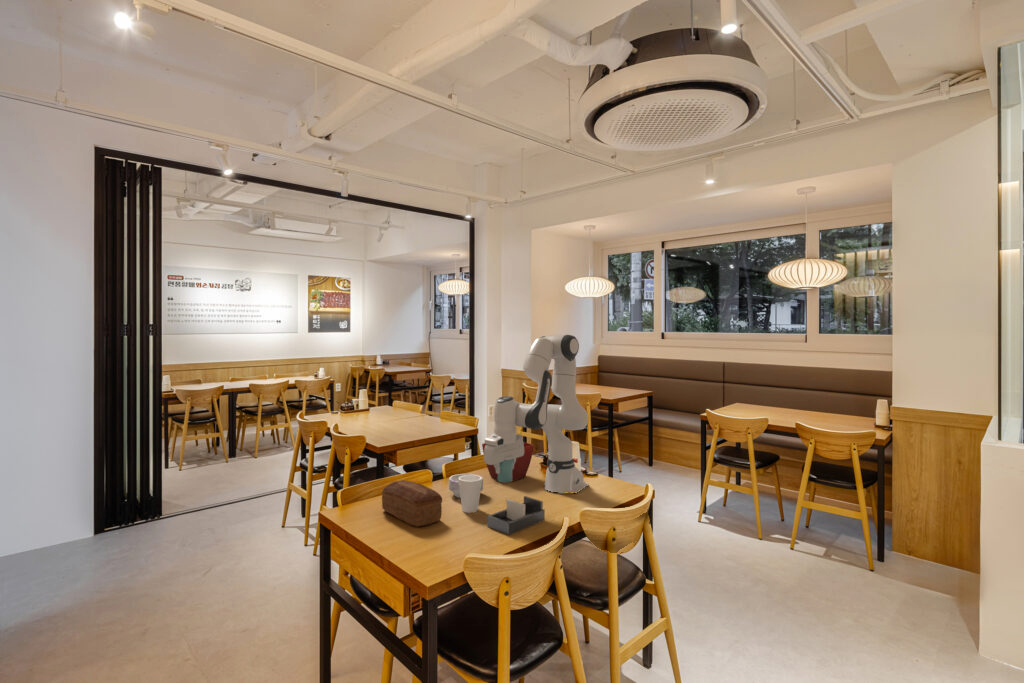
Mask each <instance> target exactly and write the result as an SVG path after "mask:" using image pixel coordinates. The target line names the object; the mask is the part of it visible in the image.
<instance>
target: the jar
mask: <svg viewBox="0 0 1024 683" xmlns="http://www.w3.org/2000/svg"><path fill="white" fill-rule="evenodd" d="M512 458H513V455H512V456H508V457H504V461H503V462H500V465H499V468H500V469H501V473H499V474H498V479H497V482H499V483H510V482H513V481H512Z"/></svg>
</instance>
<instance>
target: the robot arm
mask: <svg viewBox="0 0 1024 683" xmlns="http://www.w3.org/2000/svg"><path fill="white" fill-rule="evenodd" d="M579 349H580V343H579V340H578V338H576V336H574V335H571V334H553V335H544V336H540V337H537V338H535V340H534V341H533V342H532V344H531V346H530V348H529V349H528V351H527V354H526V356H525V358H524V361H523V365H522V369H523V373H524V374H525V376H527V377H528V379H530V380H531V381H533V382H535V383H536V384H537V385H538V386H537V392H536V396H535V400H534V402H533V403H523V402H519V401H517V400H515V398H514V397H513V396H508V395H507V396H500V397H498V398H496V400H495V402H494V412H493V421H494V428H493V432H492V433H491V434H490V435H489V436H487V437H486V438H484V443H485V444H487V445H486V446H485V448H484V453H483V463H485V464H489V465H494V467H495V469H496V473H497V474H499V473H501V469H500V468H499V465H500V462H503V461H504V457H508V456H512V455H513V458H512V469H514V464H515V462H516V458H518V457H521V456H523V455H524V443H523V442H524V440H523V439H524V437H523V435H522V434H520V433H518V434H517V428H516V426H517V427H520V428H521V427H522V428H527V429H530V430H535V431H538V430H539V429H542V430H543V432H544V434H545V437H546V439H547V443H548V444H547V446H548V457H547V466H548V467H547V468H546V472H545V473H546V474H545V481H544V482H543V486H544V485H545V486H544V490H545V491H547V490H548V491H547V492H549V491H551V492H550V493H553V492H559V493H558V494H566V493H565V492H578V491H579V490H581V489H583V488H584V489H586V488H587V487H586V486H588V485H589V483H588V482H586V481H584V473H583V472H582V471H581V470H579V468H577V467H576V464H577V463H578V462H579V459H578V458H575V457H573V452H574V451H573V450H574V449H573V448H574V447H573V442H572V440H571V439H570V438H569V437H567V436H566V435H565V434H564V433H563V431H562V430H567V431H580V430H584V429H585V428H586V427H587V426H588V423H589V414H588V412H587V410H586V409H585V408H584V407H583V406H582V405H581V403H580V402H579V400H578V397H577V390H576V389H577V388H576V381H577V380H576V379H577V360H576V356H577V355H578V353H579ZM552 360H554V363H553V368H552V374H551V372H549V369H550V365H551V362H552ZM551 391H552V394H553V395H554V396H556V397H557V398H559V399H560V401H561V404H549V398H550V393H551ZM575 463H576V464H575ZM589 486H590V485H589ZM589 486H588V487H589ZM585 487H586V488H585ZM584 489H583V490H584ZM581 491H582V490H581ZM578 493H579V492H578Z"/></svg>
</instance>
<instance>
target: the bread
mask: <svg viewBox="0 0 1024 683" xmlns="http://www.w3.org/2000/svg"><path fill="white" fill-rule="evenodd" d="M381 501H382V503H381V504H382V505H381V506H382V509H383V510H384V511H385V512H386V513H387V512H388V513H387V514H390V515H392V516H394V517H395V518H396V519H398V520H401V521H403V522H405V523H407V524H408V525H410V526H413V527H424V526H427V525H431V524H434V523H437V522H438V521H440V520H441V519H442V512H443V511H442V508H443V507H442V502H443V497H442V496H441V495H440V493H439V492H437V491H436V490H434V489H432V488H430V487H428V486H426V485H424V484H421V483H417V482H413V481H411V480H410V481H409V480H405V479H404V480H402V479H401V480H396V481H393V482H391V483H390V484H388V485H386V486H385V487H384V488H383V490H382V491H381Z"/></svg>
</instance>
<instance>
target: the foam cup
mask: <svg viewBox="0 0 1024 683" xmlns="http://www.w3.org/2000/svg"><path fill="white" fill-rule="evenodd" d="M477 475H478V474H475V475H464V476H460V477H459V487H460V496H461V498H460V502H461V511H462V512H463V513H467V514H470V513H471V512H473V513H476V512H478V510H479V502H480V495H481V491H480V490H481V484H482V477H483V476H481V475H479V476H477ZM480 476H481V477H480ZM471 514H472V513H471Z"/></svg>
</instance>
